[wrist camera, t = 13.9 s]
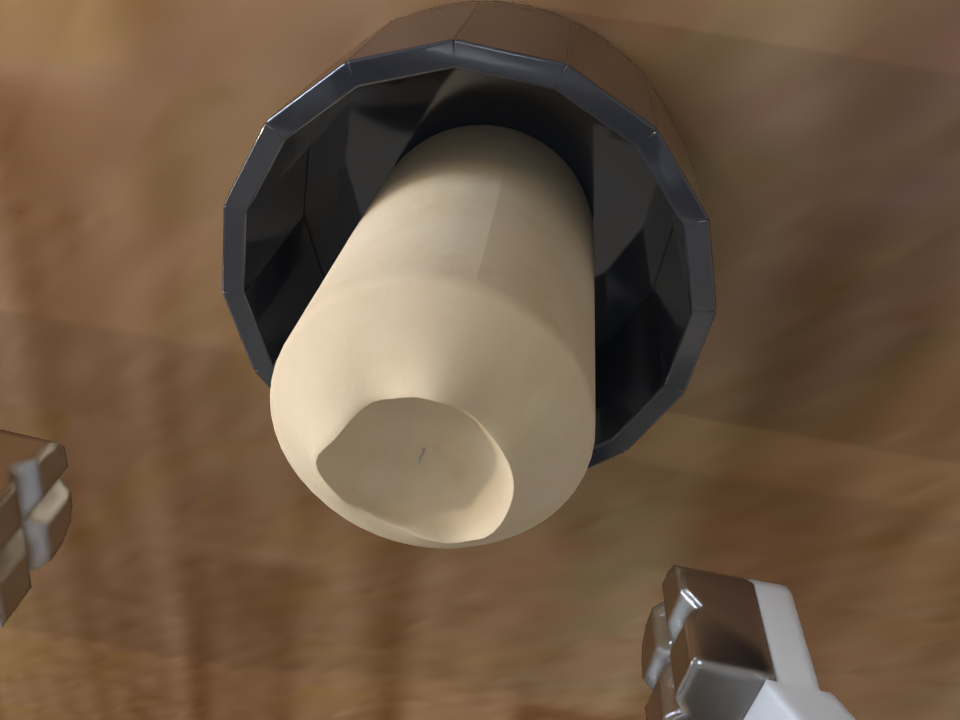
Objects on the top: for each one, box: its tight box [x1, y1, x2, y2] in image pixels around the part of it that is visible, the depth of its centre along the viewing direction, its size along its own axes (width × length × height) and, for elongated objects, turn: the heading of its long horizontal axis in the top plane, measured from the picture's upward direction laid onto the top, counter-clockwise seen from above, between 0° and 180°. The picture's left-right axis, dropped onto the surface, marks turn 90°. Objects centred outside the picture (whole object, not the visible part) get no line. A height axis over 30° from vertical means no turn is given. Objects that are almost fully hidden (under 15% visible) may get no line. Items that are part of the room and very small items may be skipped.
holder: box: [222, 1, 716, 469], centre depth 20 cm, size 10×10×5 cm
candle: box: [270, 125, 595, 549], centre depth 17 cm, size 6×6×10 cm
